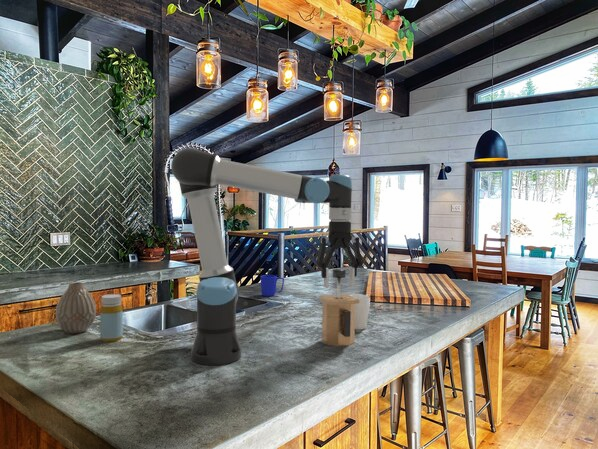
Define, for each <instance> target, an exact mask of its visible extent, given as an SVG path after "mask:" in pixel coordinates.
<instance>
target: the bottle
mask: <svg viewBox="0 0 598 449" xmlns="http://www.w3.org/2000/svg"><path fill="white" fill-rule="evenodd" d="M100 300H101V301H100V302H101V307H100V310H99V316H100V318H99V320H100V321H99V322H100V323H99V324H100V326H99V328H100V340H101V341H102V342H104V343H115V342H118V341H121V340H122V338H123V335H124V333H123V332H124V331H123V328H124V326H123V325H124V324H123V322H124V321H123V320H124V319H123V318H124V317H123V316H124V315H123V307H122V294H118V293H113V294H111V293H110V294H104V295H102V296H101V299H100Z"/></svg>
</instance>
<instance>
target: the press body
mask: <svg viewBox="0 0 598 449" xmlns="http://www.w3.org/2000/svg"><path fill="white" fill-rule="evenodd" d="M349 295H350V294H345V293H344V294H343V293H342V294H341V299H337V294H328V295H327V294H326V295H325V294H324V295H318V299H319V300H321V302H322V304H321V306H322V307H321V309H322V310H321V312H322V313H321V342H323V343H324V344H325V345H327V346H328V345H329V346H335V347H345V346H346V347H347V346H351V345H352V344H353V343H355V330H356V329H355V304H357V303H359V300H357V299H355V298H353V297H351V296H349Z"/></svg>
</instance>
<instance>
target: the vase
mask: <svg viewBox="0 0 598 449" xmlns="http://www.w3.org/2000/svg"><path fill="white" fill-rule="evenodd" d="M83 283H84V282H79V281H76V282H70V283H69V284H68V287H67V289H66V290H65V291H64V293H63V294H62V295H61V297H60V298H59V300H58V301H57V305H56V308H55V319H56V323H57V325H58V326H59V328H60V329H61V330H62V331H64V332H65V333H66V334H81V333H84V332H87V330H88V329H89V328H91V326H92V325H93V324H94V322H95V319H96V316H97V306H96V302H95V299H94V298H93V296H92V294H90V292H89V291H88V290H87V289H86V288H85V287H84V284H83Z"/></svg>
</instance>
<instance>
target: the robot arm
mask: <svg viewBox="0 0 598 449" xmlns="http://www.w3.org/2000/svg"><path fill="white" fill-rule="evenodd" d="M171 173H172V176H174V178H175V180H177V181H178V183H179V187H180V189H179V190H180V192H181V196H182V197H184V198H185V199H186V200H187V203H188V207H189V213H190V216H191V222H192V227H193V233H194V236H195V241H196V246H197V247H196V248H197V250H198V251H197V252H198V256H199V261H200V266H201V271H200V274H199V275H198V279H199V283H198V284H197V286H196V287H197V288H196V292H195V293H196V300H197V301H196V303H197V304H196V305H197V306H196V335H195V337H194V340H193V344H192V346H191V347H192V348H191V351H190V359H191V361H192V362H194V363H196V364H199V365H207V366H219V365H226V364H231V363H233V362H236V361H238V360H239V359H241V357H242V347H241V344H240V341H239V336H238V334H237V326H236V324H237V320H236V319H237V303H238V299H239V298H240V297H239V296H240V287H239V285H238V282H237V280H236V275H235V271H234V268H233V267H232V266H231V265H229V263H228V258H227V254H226V250H225V243H224V239H223V235H222V229H221V224H220V220H219V215H218V209H217V206H216V202H215V201H216V199H215V195H214V194H215V193H216V192H217V191H218V186H219V185H220V186H224V187H231V188H235V189H241V190H245V191H252V192H257V193H261V194H266V195H268V194H269V195H273V196H277V197H282V198H283V197H284V198H288V199H293V200H294V202H295V203H299V204H301V203H302V204H328V207H329V208H328V219H329V222H328V235H327V236H325V237H323V236H321V237H320V238H319V249H318V252H317V253H318V254H317V258H316V262H315V266H317V267H319V268H320V270H321V271H320V276H321V278H322V279H323V288H325V289H329V287H330V286H329V285H330V283H329V280H330V278H329V276H330V275H329V274H330V270H329V269H330V268H328V265H329V263H330V261H331V259H332V256H333V254H334V253H335V251H336V250H337V249H343V250H344V251H345V254H346V256H347V258H348V260H349V264H350V266H349V268H348V269H349V270H348V286H350V287H353V288H354V287H355V277H357V275H358V274H357V273H358V268H359V267H361V266H362V265H363V261H362V255H361V254H362V253H361V250H360V237H358V236H352V234H351V232H352V222H351V220H352V194H353V192H352V191H353V187H352V186H353V184H352V176H350V175H347V174H331V175H330V176H329V180H325V179H323V178H321V177H311V176H308V175H307V176H306V175H301V174H296V173H291V172H286V171H283V170H282V171H281V170H276V169H272V168H266V167H262V166H256V165H251V164H246V163H241V162H236V161H231V160H226V159H221V157H220V156H219V155H217V154H213V153H209V152H205V151H203V150H200V149H197V148H193V147H187V148H183V149H181V150H179V151H178V152H177V153H176V154H175V155H174V156H173V158H172V159H171ZM217 185H218V186H217ZM328 242H329V246H328V249H327V244H328ZM350 243H352V248H353V252H352V250H351V246H350ZM326 249H327V251H326ZM325 251H326V253H325ZM353 253H354V255H353Z"/></svg>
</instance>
